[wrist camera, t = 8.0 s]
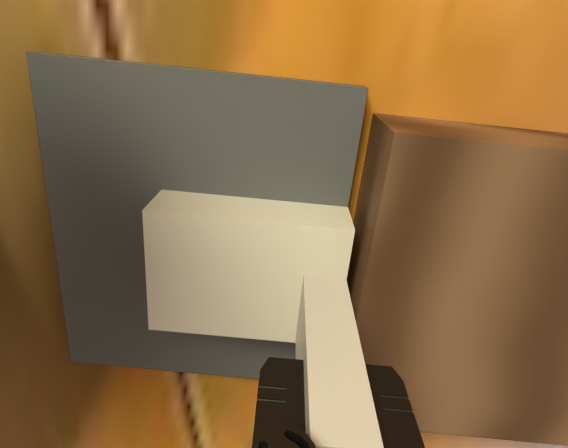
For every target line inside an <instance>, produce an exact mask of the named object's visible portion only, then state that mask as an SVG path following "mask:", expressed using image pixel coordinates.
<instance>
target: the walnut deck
mask: <svg viewBox="0 0 568 448" xmlns="http://www.w3.org/2000/svg"><path fill="white" fill-rule="evenodd" d="M353 225H354V228H355V234H354V240H353V246H352V252H351V257H350V263H349V269H348V274H347V284H348V289H349V293H350V298H351V303H352V307H353V312H354V316H355V321H356V325H357V330H358V334H359V339H360V343H361V348H362V352H363V357H364V361H365V364H370V365H381V366H392V367H393V369H394V370H395V371H396V372H397V374H398V375H399V376H400V377H401V378H402V380H403V381H404V384H405V388H406V391H407V394H408V400H410V403H411V406H412V409H413V413H414V415H415V418H416V422H417V425H418V428H419V431H420V432H429V433H439V434H450V435H461V436H471V437H482V438H493V439H503V440H514V441H525V442H535V443H546V444H556V445H567V446H568V133H558V132H548V131H539V130H529V129H519V128H510V127H500V126H490V125H481V124H471V123H461V122H452V121H442V120H433V119H423V118H413V117H404V116H394V115H384V114H375V113H373V117H372V123H371V128H370V134H369V139H368V145H367V151H366V156H365V162H364V167H363V173H362V178H361V184H360V189H359V195H358V201H357V206H356V212H355V217H354V223H353Z"/></svg>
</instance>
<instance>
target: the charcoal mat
mask: <svg viewBox="0 0 568 448" xmlns="http://www.w3.org/2000/svg"><path fill="white" fill-rule="evenodd" d="M26 54H27V61H28V68H29V75H30V82H31V89H32V96H33V103H34V110H35V117H36V124H37V131H38V138H39V145H40V152H41V158H42V165H43V172H44V179H45V186H46V193H47V200H48V207H49V214H50V221H51V228H52V235H53V242H54V249H55V255H56V262H57V269H58V276H59V283H60V290H61V297H62V304H63V311H64V318H65V325H66V332H67V339H68V346H69V353H70V359H71V361H72V362H82V363H93V364H103V365H114V366H124V367H135V368H145V369H156V370H166V371H177V372H187V373H198V374H208V375H219V376H229V377H240V378H250V379H259V376H260V369H261V368H262V366H263V365H264V363H265V362H266V360H267V359H268V357H275V358H287V359H296V343H292V342H281V341H270V340H259V339H248V338H237V337H226V336H215V335H204V334H193V333H182V332H171V331H160V330H149V328H148V309H147V290H146V272H145V253H144V234H143V216H142V210H143V209H144V208H145V207H146V206H147V205H148V204H149V203H150V201H151V200H152V199H153V198H154V197H155V196H156V195H157V194H158V193H159V192H160V191H161V190H172V191H182V192H193V193H204V194H214V195H225V196H236V197H246V198H257V199H268V200H278V201H289V202H300V203H310V204H321V205H332V206H342V207H348V204H349V198H350V192H351V187H352V181H353V175H354V169H355V163H356V157H357V151H358V146H359V140H360V134H361V128H362V122H363V116H364V111H365V105H366V99H367V93H368V88H367V87H366V86H359V85H349V84H340V83H330V82H321V81H311V80H301V79H292V78H282V77H273V76H263V75H254V74H244V73H234V72H225V71H215V70H206V69H196V68H187V67H177V66H167V65H158V64H148V63H139V62H129V61H120V60H110V59H101V58H91V57H81V56H72V55H62V54H53V53H43V52H26Z"/></svg>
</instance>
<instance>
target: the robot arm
mask: <svg viewBox="0 0 568 448" xmlns="http://www.w3.org/2000/svg"><path fill="white" fill-rule="evenodd" d="M252 448H425V446H424V443H423V440H422V437H421V434H420V431H419V428H418V425H417V422H416V418H415V415H414V413H413V409H412V406H411V403H410V400H408V394H407V391H406V388H405V384H404V381H403V380H402V378H401V377H400V376H399V375H398V374H397V372H396V371H395V370H394V369H393V367H392V366H381V365H370V364H365V361H364V357H363V352H362V348H361V343H360V339H359V334H358V330H357V325H356V321H355V316H354V312H353V307H352V303H351V298H350V293H349V289H348V284H347V280H346V279H339V278H328V277H317V276H306V275H303V283H302V291H301V299H300V306H299V314H298V322H297V330H296V359H287V358H275V357H268V359H267V360H266V362H265V363H264V365H263V366H262V368H261V369H260V376H259V386H258V395H257V405H256V415H255V424H254V434H253V444H252Z"/></svg>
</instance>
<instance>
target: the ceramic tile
mask: <svg viewBox="0 0 568 448" xmlns="http://www.w3.org/2000/svg"><path fill="white" fill-rule="evenodd" d="M142 216H143V234H144V253H145V272H146V290H147V309H148V328H149V330H160V331H171V332H182V333H193V334H204V335H215V336H226V337H237V338H248V339H259V340H270V341H281V342H292V343H296V330H297V322H298V314H299V306H300V299H301V291H302V283H303V275H306V276H317V277H328V278H339V279H346V280H347V274H348V269H349V263H350V257H351V252H352V246H353V240H354V234H355V228H354V225H353V221H352V218H351V215H350V212H349V209H348V207H342V206H332V205H321V204H310V203H300V202H289V201H278V200H268V199H257V198H246V197H236V196H225V195H214V194H204V193H193V192H182V191H172V190H161V191H160V192H159V193H158V194H157V195H156V196H155V197H154V198H153V199H152V200H151V201H150V203H149V204H148V205H147V206H146V207H145V208H144V209H143V210H142Z"/></svg>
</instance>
